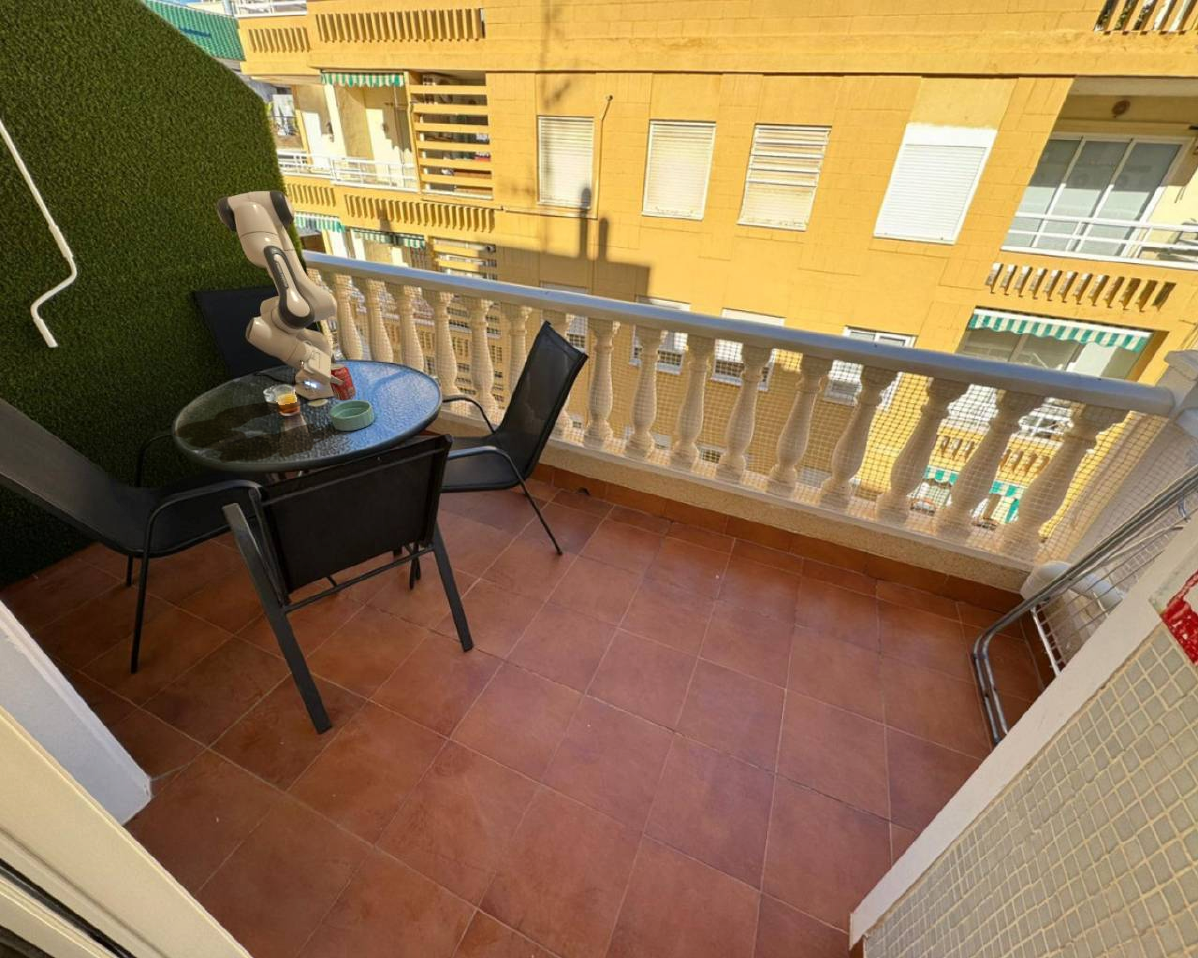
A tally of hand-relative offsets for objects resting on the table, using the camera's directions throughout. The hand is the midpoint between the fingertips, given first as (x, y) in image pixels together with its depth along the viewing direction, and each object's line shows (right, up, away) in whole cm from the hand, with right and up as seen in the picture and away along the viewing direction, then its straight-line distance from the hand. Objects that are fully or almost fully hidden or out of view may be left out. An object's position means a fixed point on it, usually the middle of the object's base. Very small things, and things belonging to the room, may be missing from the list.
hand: (342, 378), depth 174 cm
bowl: (0, -14, +10) cm, 17 cm away
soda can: (0, -6, +4) cm, 7 cm away
